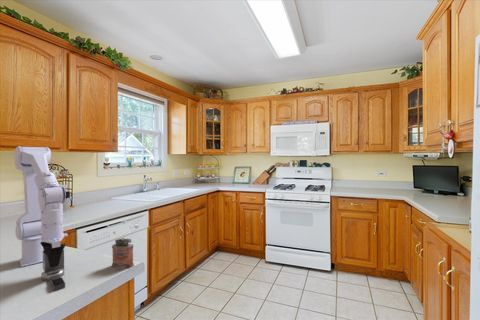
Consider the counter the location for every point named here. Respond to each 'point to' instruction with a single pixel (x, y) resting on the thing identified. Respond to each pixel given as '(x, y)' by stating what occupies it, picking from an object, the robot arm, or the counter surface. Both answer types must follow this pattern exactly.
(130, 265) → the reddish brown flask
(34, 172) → the robot arm
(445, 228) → the counter surface
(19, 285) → the counter surface
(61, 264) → the brushed dark grey cube
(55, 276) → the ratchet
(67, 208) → the glass holder
